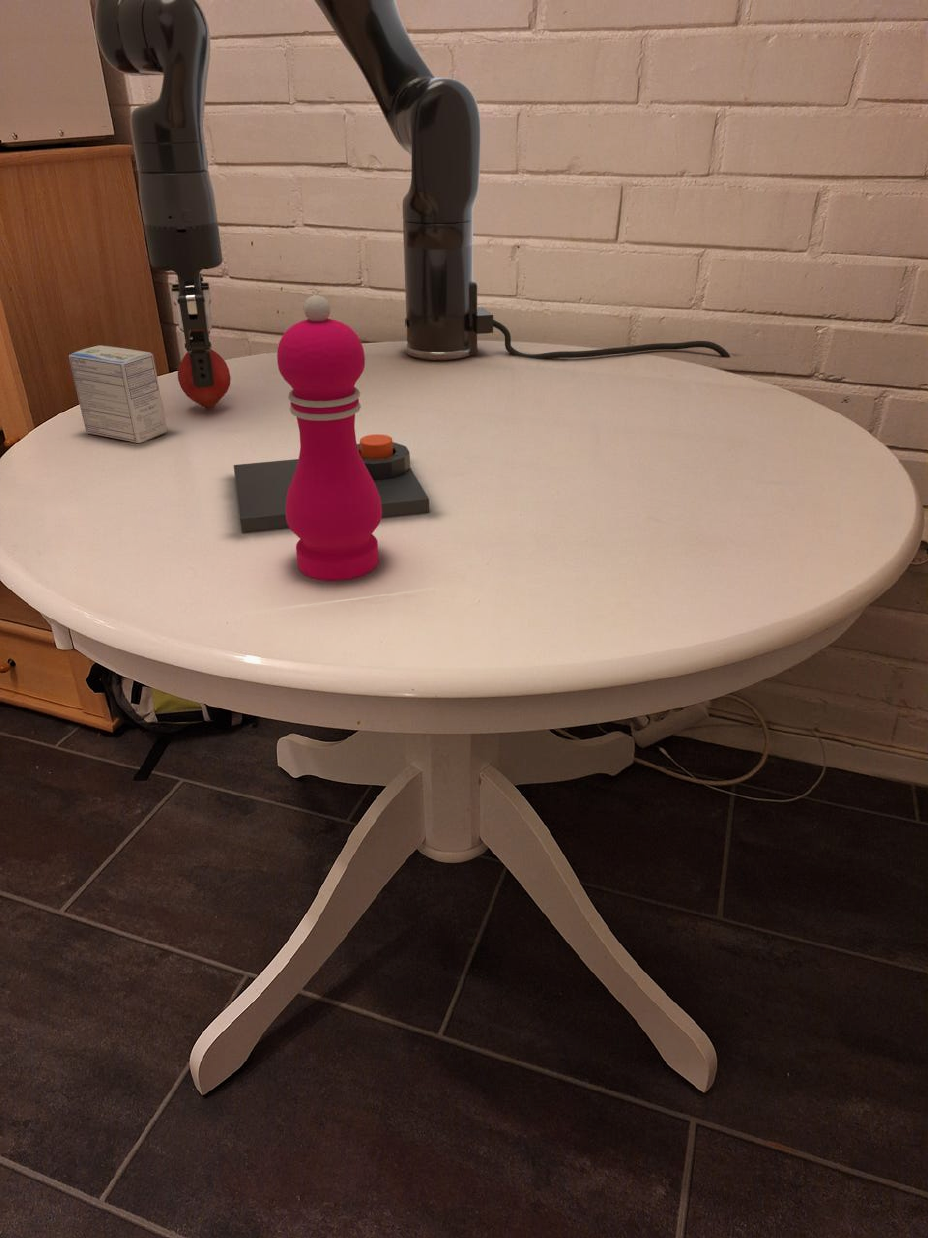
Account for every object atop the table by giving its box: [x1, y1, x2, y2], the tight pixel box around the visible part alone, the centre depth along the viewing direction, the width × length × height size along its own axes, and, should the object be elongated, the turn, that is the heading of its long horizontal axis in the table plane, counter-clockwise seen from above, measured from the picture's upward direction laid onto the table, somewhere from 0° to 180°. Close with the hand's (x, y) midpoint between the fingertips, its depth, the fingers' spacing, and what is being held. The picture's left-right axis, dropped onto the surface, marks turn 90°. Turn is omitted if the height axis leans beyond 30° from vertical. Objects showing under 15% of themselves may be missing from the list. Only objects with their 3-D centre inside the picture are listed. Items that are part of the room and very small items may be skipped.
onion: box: [176, 349, 232, 410], centre depth 104 cm, size 6×6×8 cm
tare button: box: [359, 433, 394, 459], centre depth 84 cm, size 3×3×2 cm
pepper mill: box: [276, 294, 383, 582], centre depth 66 cm, size 7×7×20 cm
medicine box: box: [68, 344, 168, 444], centre depth 96 cm, size 8×4×9 cm, turn 62°
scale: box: [233, 441, 430, 534], centre depth 82 cm, size 16×13×3 cm
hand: (204, 377), depth 104 cm, fingers closed on onion, 6 cm apart
